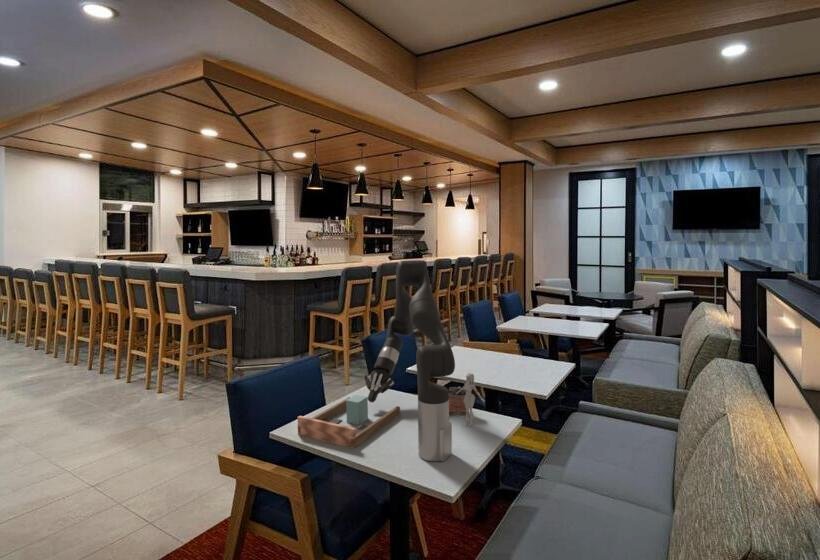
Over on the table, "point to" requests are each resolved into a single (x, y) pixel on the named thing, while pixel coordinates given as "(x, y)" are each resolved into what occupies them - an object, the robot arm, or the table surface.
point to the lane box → (340, 427)
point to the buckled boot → (457, 402)
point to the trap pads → (336, 421)
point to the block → (357, 409)
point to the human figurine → (469, 396)
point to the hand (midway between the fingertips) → (370, 401)
